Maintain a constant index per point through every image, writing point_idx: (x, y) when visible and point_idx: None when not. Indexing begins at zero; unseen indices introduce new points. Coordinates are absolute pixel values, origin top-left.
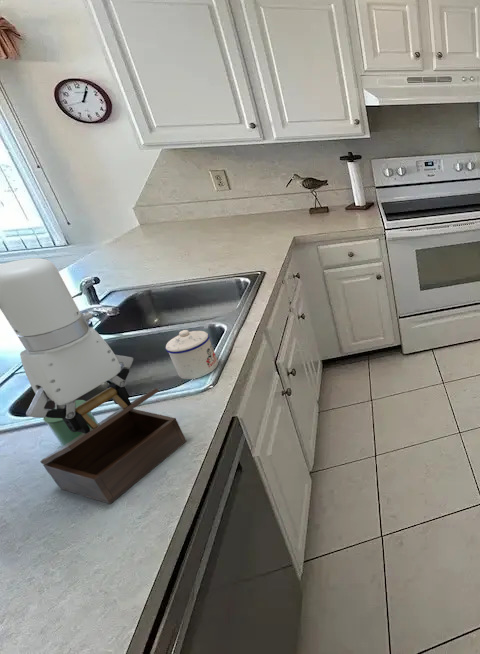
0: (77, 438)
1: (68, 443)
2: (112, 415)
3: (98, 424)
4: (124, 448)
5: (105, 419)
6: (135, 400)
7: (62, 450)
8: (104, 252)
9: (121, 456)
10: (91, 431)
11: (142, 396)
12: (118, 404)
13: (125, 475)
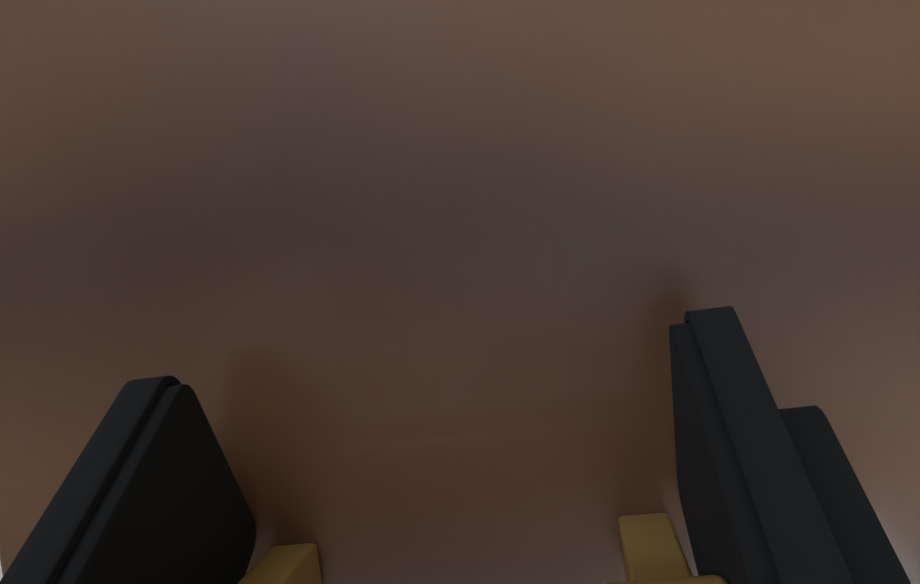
0: (167, 322)
1: (120, 65)
2: (552, 276)
3: (398, 233)
4: None
5: (513, 81)
6: (859, 279)
7: (4, 548)
8: None
9: None
10: None
11: (895, 479)
12: (624, 559)
13: None
